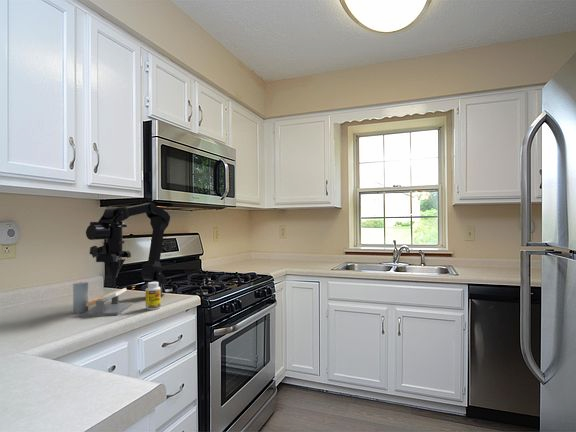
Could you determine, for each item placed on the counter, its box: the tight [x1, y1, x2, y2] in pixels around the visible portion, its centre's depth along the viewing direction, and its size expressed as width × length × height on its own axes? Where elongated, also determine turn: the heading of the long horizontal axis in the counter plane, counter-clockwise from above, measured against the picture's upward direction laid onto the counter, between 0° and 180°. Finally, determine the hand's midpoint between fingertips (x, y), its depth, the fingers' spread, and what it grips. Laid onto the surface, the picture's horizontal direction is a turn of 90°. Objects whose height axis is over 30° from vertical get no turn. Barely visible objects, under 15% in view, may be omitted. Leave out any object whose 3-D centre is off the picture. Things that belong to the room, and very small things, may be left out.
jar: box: [72, 281, 89, 315], centre depth 130 cm, size 5×5×11 cm
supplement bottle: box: [145, 282, 162, 311], centre depth 134 cm, size 6×6×10 cm
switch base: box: [79, 295, 134, 318], centre depth 132 cm, size 16×13×6 cm
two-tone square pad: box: [86, 287, 127, 308], centre depth 132 cm, size 12×11×2 cm
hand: (114, 277), depth 135 cm, fingers closed
